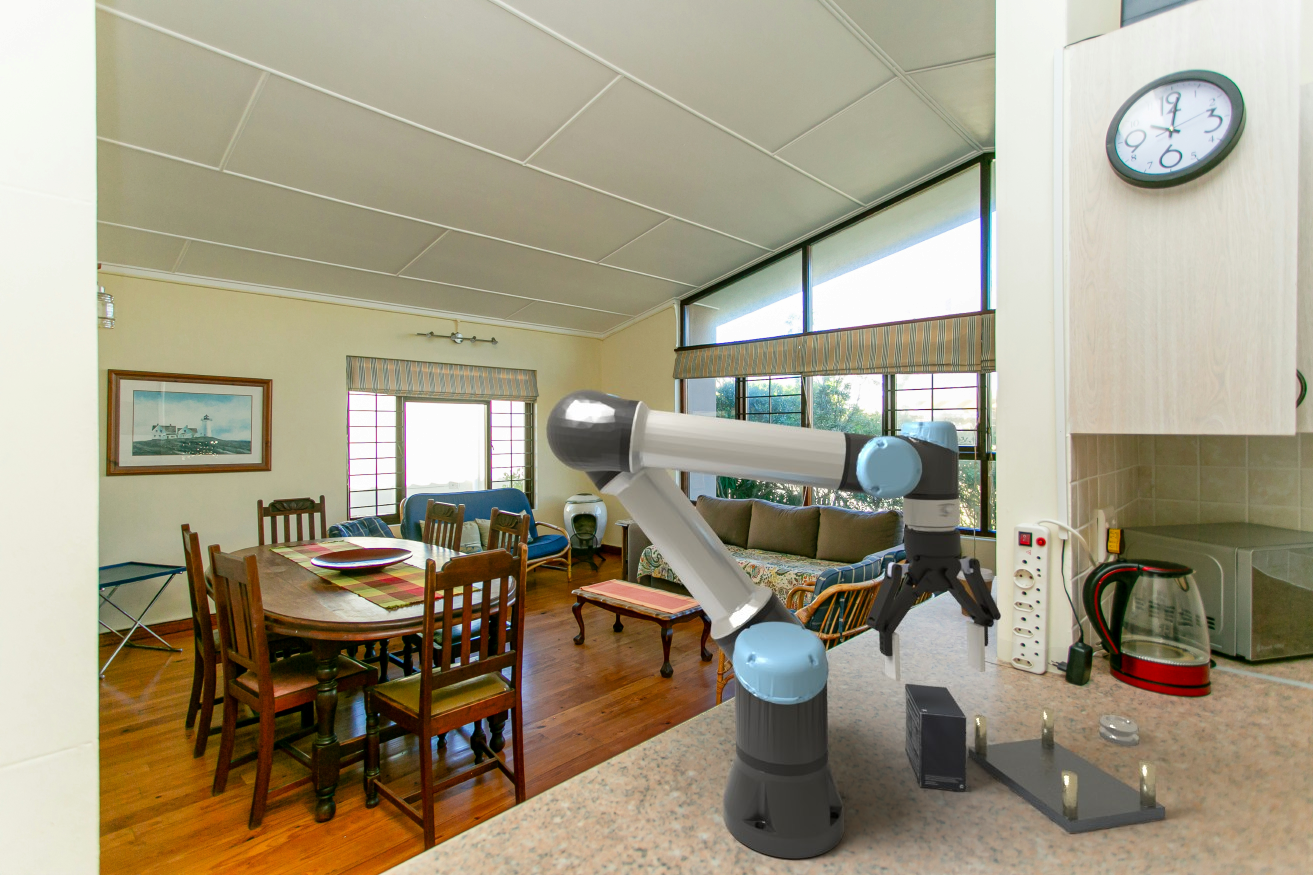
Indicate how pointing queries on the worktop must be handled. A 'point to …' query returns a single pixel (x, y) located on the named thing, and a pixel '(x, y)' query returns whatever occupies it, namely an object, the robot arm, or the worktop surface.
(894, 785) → the worktop surface
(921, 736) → the small box
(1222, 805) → the worktop surface
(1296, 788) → the worktop surface
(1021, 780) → the chassis
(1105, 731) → the metal grooved wheel
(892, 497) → the robot arm
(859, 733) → the worktop surface
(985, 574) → the disposable coffee cup
